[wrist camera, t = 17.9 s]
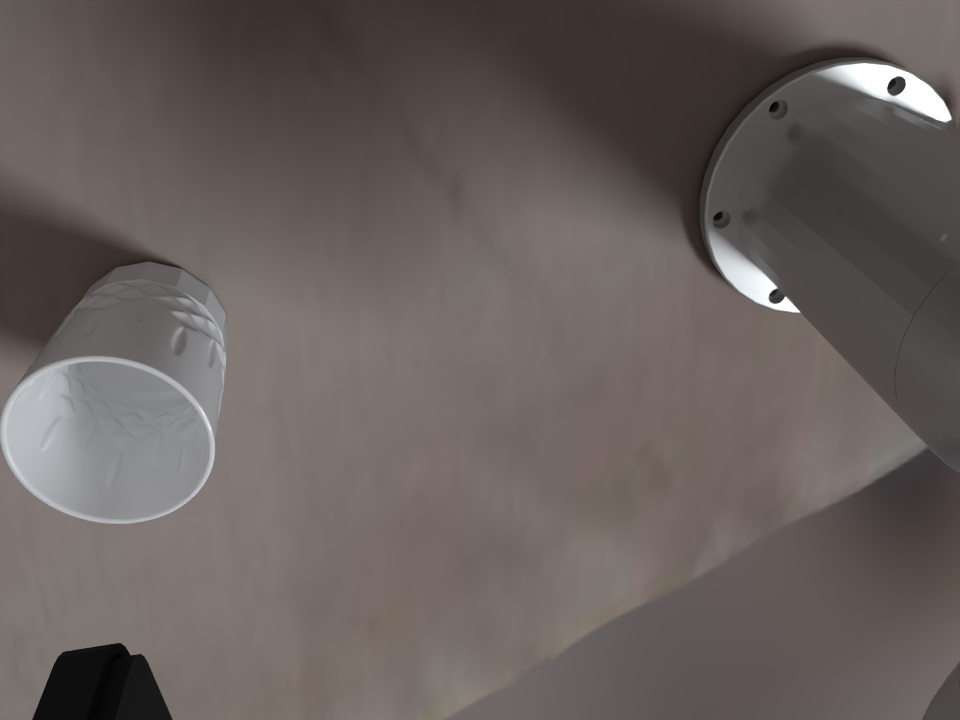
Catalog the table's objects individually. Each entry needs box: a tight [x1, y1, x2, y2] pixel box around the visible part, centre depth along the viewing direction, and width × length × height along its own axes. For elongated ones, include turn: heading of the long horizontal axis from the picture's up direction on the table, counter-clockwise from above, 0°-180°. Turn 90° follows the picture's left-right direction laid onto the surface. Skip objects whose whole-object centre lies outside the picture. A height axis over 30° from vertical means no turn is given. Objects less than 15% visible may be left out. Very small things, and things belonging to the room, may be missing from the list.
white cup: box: [0, 262, 227, 524], centre depth 39 cm, size 8×8×10 cm
